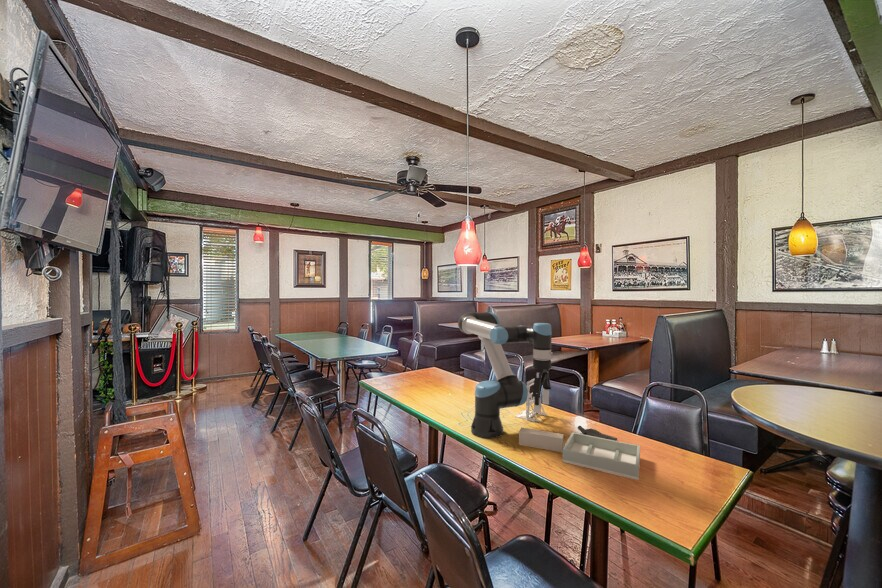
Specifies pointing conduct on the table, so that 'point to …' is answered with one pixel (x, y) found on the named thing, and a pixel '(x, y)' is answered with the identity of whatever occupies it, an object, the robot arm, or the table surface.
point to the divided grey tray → (603, 455)
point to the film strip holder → (526, 412)
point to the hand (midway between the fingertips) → (541, 408)
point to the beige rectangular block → (541, 439)
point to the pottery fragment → (595, 433)
